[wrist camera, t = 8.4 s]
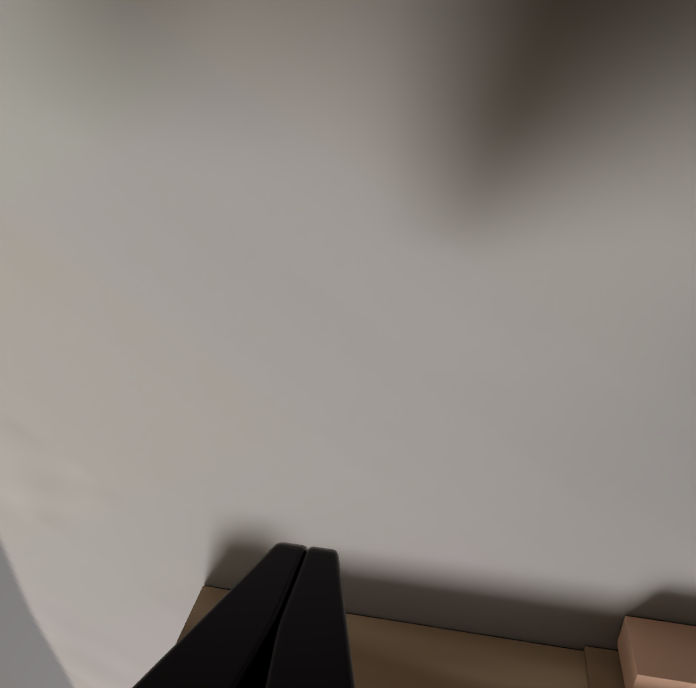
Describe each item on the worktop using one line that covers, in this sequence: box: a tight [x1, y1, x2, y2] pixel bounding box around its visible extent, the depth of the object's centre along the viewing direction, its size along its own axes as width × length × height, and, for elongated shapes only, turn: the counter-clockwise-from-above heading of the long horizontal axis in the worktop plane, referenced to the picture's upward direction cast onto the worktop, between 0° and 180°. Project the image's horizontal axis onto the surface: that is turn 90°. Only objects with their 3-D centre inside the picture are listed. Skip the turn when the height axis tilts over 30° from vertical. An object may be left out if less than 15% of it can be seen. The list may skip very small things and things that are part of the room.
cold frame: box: [176, 586, 625, 688], centre depth 12 cm, size 17×11×3 cm, turn 1°
